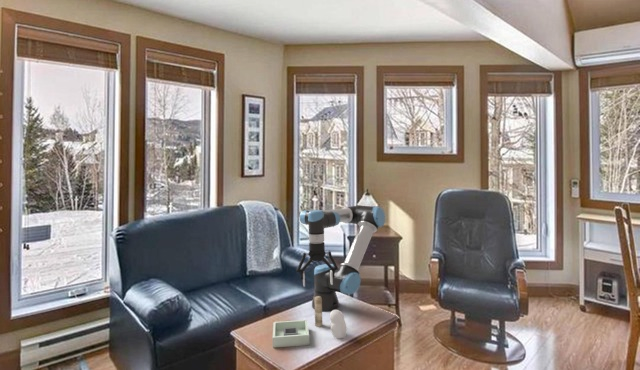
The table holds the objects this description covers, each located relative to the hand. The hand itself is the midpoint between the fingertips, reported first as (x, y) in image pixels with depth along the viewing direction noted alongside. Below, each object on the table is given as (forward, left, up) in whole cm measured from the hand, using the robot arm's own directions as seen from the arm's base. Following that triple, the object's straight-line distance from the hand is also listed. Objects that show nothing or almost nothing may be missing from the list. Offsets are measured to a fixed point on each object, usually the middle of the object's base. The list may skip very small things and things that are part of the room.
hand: (317, 284), depth 179 cm
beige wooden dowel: (0, 0, -20) cm, 20 cm away
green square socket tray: (+11, -14, -20) cm, 27 cm away
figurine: (+12, +8, -21) cm, 25 cm away
